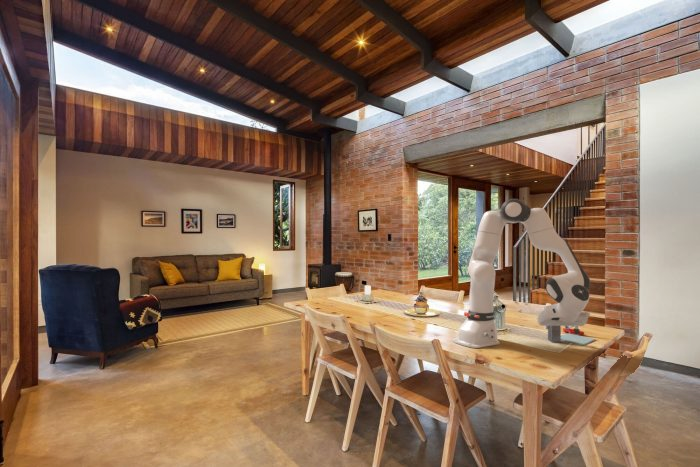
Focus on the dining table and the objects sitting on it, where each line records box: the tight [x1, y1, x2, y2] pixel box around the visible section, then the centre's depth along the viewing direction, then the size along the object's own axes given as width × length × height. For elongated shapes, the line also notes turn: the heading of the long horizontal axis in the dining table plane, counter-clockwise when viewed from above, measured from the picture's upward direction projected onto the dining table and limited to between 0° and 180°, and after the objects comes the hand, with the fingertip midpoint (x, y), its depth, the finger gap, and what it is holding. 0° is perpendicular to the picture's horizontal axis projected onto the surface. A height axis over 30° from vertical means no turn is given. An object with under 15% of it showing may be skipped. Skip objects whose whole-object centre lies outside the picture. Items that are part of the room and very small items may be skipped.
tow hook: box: [562, 326, 585, 335], centre depth 180 cm, size 8×13×9 cm
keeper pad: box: [561, 332, 596, 346], centre depth 168 cm, size 13×12×1 cm
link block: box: [547, 326, 562, 343], centre depth 166 cm, size 4×4×9 cm
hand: (556, 327), depth 164 cm, fingers open, 8 cm apart
